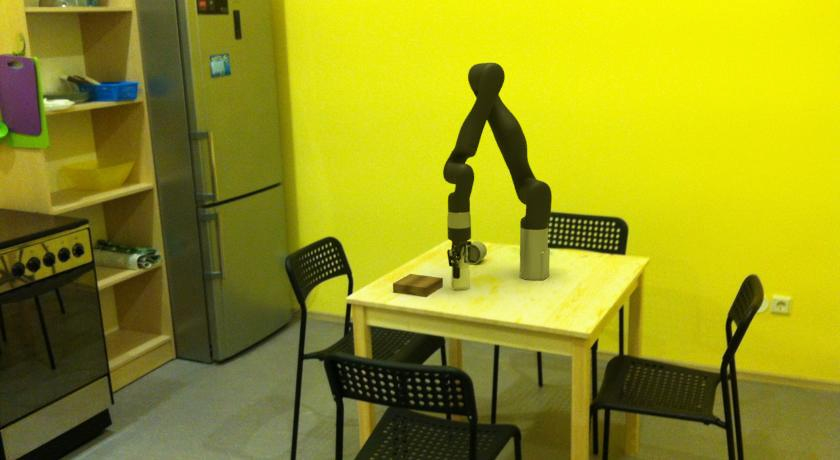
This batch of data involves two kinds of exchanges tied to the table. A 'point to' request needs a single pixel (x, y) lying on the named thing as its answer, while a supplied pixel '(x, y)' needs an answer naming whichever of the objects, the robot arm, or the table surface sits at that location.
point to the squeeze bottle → (461, 276)
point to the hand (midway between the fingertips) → (460, 275)
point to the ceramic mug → (477, 252)
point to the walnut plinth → (418, 285)
